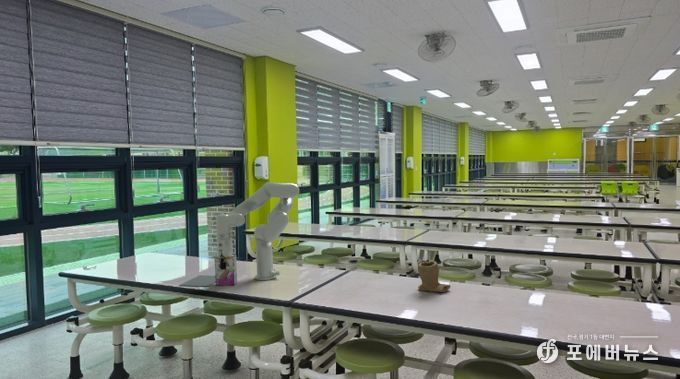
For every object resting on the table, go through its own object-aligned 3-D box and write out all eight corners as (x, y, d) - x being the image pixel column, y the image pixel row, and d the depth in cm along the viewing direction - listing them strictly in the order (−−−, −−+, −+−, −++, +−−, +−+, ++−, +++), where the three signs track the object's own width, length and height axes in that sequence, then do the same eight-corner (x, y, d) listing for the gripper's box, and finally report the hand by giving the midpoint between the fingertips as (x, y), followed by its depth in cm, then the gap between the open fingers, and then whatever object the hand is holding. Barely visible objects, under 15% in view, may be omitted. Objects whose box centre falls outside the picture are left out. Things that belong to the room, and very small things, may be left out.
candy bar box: (215, 285, 252) (213, 256, 251) (218, 283, 257) (217, 254, 256) (234, 285, 251) (233, 256, 250) (237, 283, 256) (236, 254, 255)
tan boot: (413, 292, 228) (413, 262, 227) (423, 286, 238) (422, 258, 237) (442, 296, 219) (442, 265, 218) (451, 289, 229) (450, 260, 228)
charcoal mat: (226, 276, 271) (226, 275, 271) (208, 286, 250) (208, 286, 250) (199, 276, 275) (199, 275, 275) (179, 286, 254) (179, 285, 254)
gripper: (223, 238, 243) (224, 272, 244) (237, 233, 260) (238, 264, 261) (210, 238, 245) (212, 271, 246) (225, 233, 261) (226, 264, 262)
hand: (225, 267), depth 253 cm, fingers closed on candy bar box, 5 cm apart
